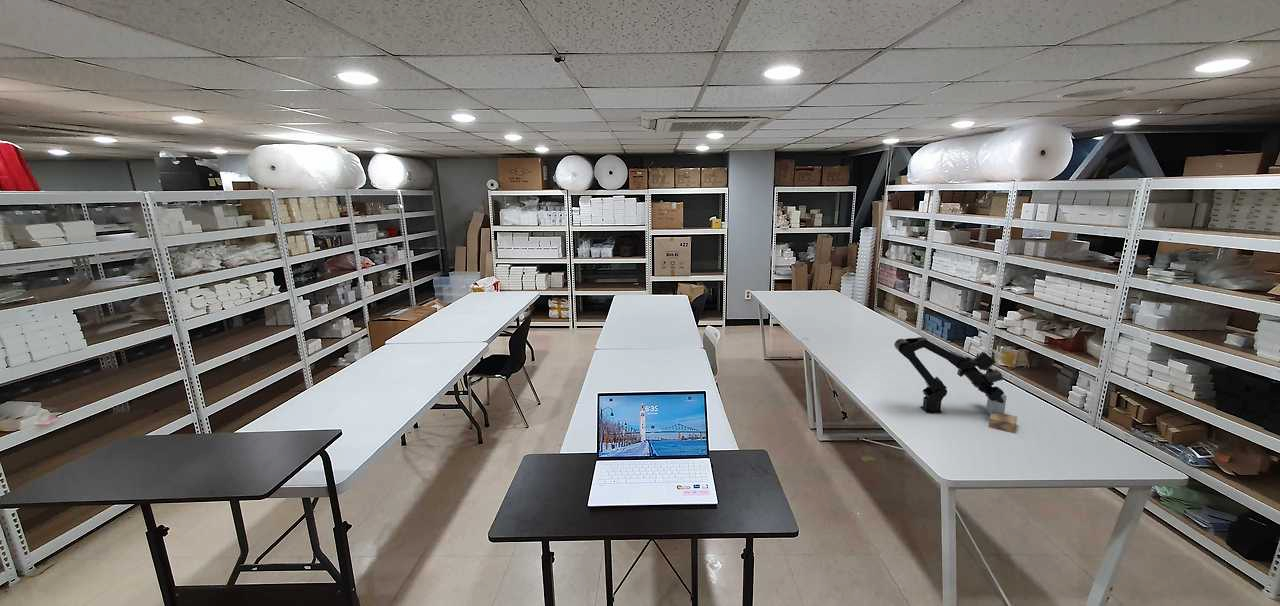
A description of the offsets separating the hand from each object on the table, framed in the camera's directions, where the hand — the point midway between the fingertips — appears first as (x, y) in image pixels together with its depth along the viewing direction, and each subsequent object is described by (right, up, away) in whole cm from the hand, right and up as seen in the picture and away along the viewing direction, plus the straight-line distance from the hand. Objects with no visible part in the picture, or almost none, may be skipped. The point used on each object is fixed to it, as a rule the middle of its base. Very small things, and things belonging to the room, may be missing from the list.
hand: (1000, 400), depth 215 cm
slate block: (-1, -6, +2) cm, 7 cm away
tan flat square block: (-7, -9, -10) cm, 15 cm away
